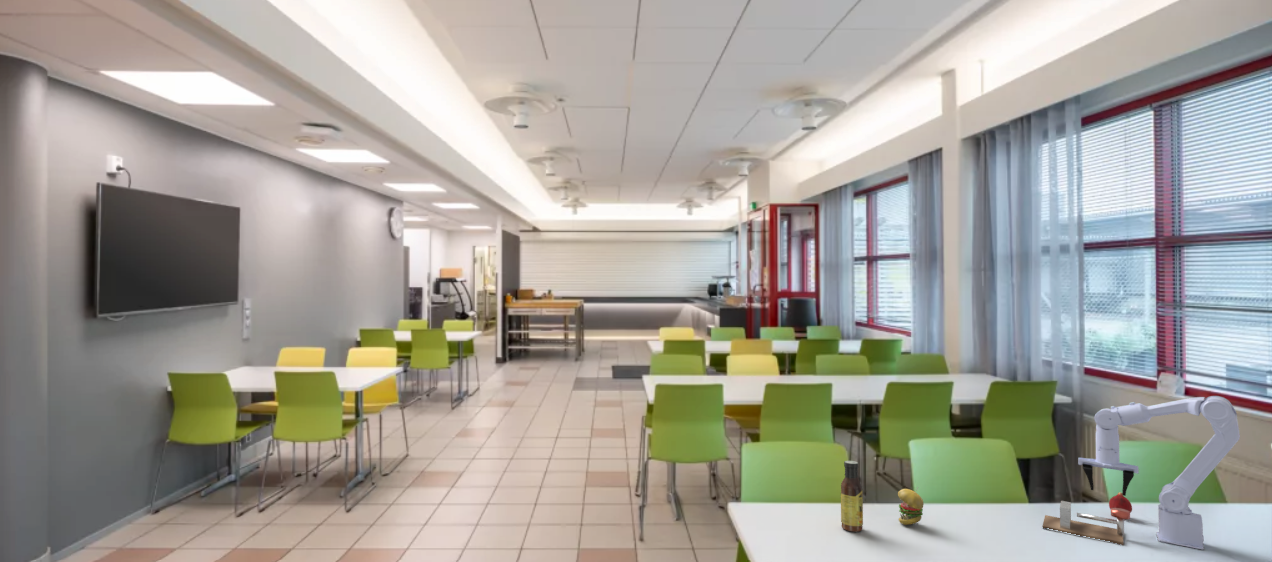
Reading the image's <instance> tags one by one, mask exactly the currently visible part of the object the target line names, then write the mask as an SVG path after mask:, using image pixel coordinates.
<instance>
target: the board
mask: <svg viewBox="0 0 1272 562" xmlns="http://www.w3.org/2000/svg"><path fill="white" fill-rule="evenodd" d="M1041 527H1043V528H1049V529H1053V530H1058V531H1062V532H1067V533H1071V534H1076V535H1080V536H1079V537H1081V536H1086V537H1090V538H1095V539H1100V540H1105V541H1110V542H1113V543H1112V544H1115V543H1117V544H1116V545H1120V544H1121V545H1120V546H1124V536H1121V535H1118V534H1117V528H1115V527H1114V528H1113V527H1109V526H1104V525H1099V524H1095V523H1089V522H1083V521H1077V520H1073V519H1071V526H1070V529H1065V528H1060V517H1057V516H1054V515H1053V516H1051V515H1046V514H1045V515H1044V518H1043V523H1042V526H1041ZM1071 534H1070V535H1071ZM1076 535H1075V536H1076ZM1086 537H1085V538H1086ZM1090 538H1089V539H1090ZM1095 539H1094V540H1095ZM1100 540H1099V541H1100ZM1105 541H1104V542H1105ZM1110 542H1109V543H1110Z"/></svg>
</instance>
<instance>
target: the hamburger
mask: <svg viewBox="0 0 1272 562" xmlns="http://www.w3.org/2000/svg"><path fill="white" fill-rule="evenodd" d="M918 488H919V486H917V488H916V489H915V491H914V490H912V489H910V488H901V489H900V490H898V492H897V496H898V498H899V502H901V501H902V502H901V503H900V504H898V507H899V510H898V513H899V512H900V513H899V514H900V517H899V518H898V522H899V523H900V524H902V525H905V526H909V525H910V526H911V525H914V524H917V523H919V522H920V521H921V520H922V516H923V514H924V513H923V509H924V500H923V498H922V496H921V495H920V494H918V493H917V491H918Z"/></svg>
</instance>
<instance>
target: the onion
mask: <svg viewBox="0 0 1272 562" xmlns="http://www.w3.org/2000/svg"><path fill="white" fill-rule="evenodd" d="M1108 507H1109V509H1110V510H1111V508H1121V509H1125V510H1128V511H1130V514H1131V513H1132V511H1133V506H1132V503H1131V501H1130V500H1129V499H1128V498H1127V497H1126V496H1123V494H1122V492H1121V491H1120V492H1118V493H1117V494H1116V495H1114V496H1112V497H1111V498H1110V499H1109V501H1108Z"/></svg>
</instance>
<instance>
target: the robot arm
mask: <svg viewBox="0 0 1272 562" xmlns="http://www.w3.org/2000/svg"><path fill="white" fill-rule="evenodd" d="M1184 413H1187V414H1191V415H1193V416H1197V417H1199V416H1200V414H1201V415H1202V416H1203V417H1204V418H1205V419H1206V420H1207V421H1208V422H1209V424H1210V426H1211V428H1212V430H1213V432H1214V434H1213V435H1212V437H1211V438H1210V439H1209V440H1208V441H1206V442H1207V443H1206V444H1204V446H1203V447H1202V448H1201V449H1200V451H1199V452H1198V453H1197V454H1196V455H1195V456H1194V458H1193V459H1192V460H1191V461H1190V463H1188V465H1187V466H1186V467H1185V468H1184V470H1183V471H1182V472H1181V473H1180V474H1179V475H1178V476H1177V477H1176V478H1175V479H1174V480H1173V481H1172V482H1170V483H1166V484H1164V486H1162V487H1161V492H1159V494H1158V502H1159V504H1158V505H1157V506H1158V509H1157V510H1158V531H1155V533H1157V534H1156V537H1158V538H1157V540H1158V541H1159V542H1160V543H1161V542H1162V543H1167V544H1172V545H1178V546H1183V547H1188V548H1191V549H1192V548H1193V549H1197V550H1204V549H1205V548H1204V541H1205V538H1204V529H1203V527H1204V526H1203V525H1204V523H1203V517H1202V514H1200V513H1195V512H1193V511H1192V509H1191V508H1190V507H1189V503H1190V500H1191V497H1192V496H1193V495H1194V494H1195V492H1196V491H1197V490H1198V488H1199V487H1200V485H1201V484H1203V482H1204V481H1205V479H1207V477H1208V476H1209V475H1210V474H1211V473H1212V472H1213V470H1214V469H1215V468H1216V467H1217V466H1218V465H1219V463H1221V461H1222V460H1223V459H1224V458H1225V457H1226V455H1227V454H1228V453H1229V452H1230V451H1231V450H1232V449H1233V447H1235V445H1236V444H1237V443H1238V441H1240V439H1241V437H1240V434H1241V433H1240V427H1239V421H1238V414H1237V411H1236V409H1235V407H1234V406H1233V404H1232V403H1231V402H1230V400H1229V399H1227V398H1225V397H1224V396H1219V395H1211V396H1208V397H1205V396H1197V397H1190V398H1189V397H1188V398H1183V399H1178V400H1172V401H1167V402H1162V403H1158V404H1153V405H1145V404H1143V403H1140V402H1139V403H1138V402H1137V403H1136V401H1133V402H1129V404H1127V405H1121V406H1116V405H1112V406H1111V405H1110V408H1109V407H1107V408H1102V409H1100V410H1098V411H1097V412H1096V413H1095V415H1094V422H1095V425H1096V426H1095V429H1096V431H1095V458H1088V457H1087V458H1085V457H1078V459H1077V460H1078V463H1077V464H1078V465H1079V466H1082V469H1083V471H1084V473H1085V475H1086V478H1087V479H1088V482H1089V486H1090V487H1089V488H1090V490H1091V491H1094V487H1095V485H1094V476H1093V474H1094V472H1093V471H1094V469H1093V468H1094V467H1095V468H1102V469H1108V470H1115V471H1120V472H1122V489H1121V491H1122V492H1121V493H1122V495H1123V496H1124V497H1126V495H1127V490H1128V488H1129V485H1130V483H1131V481H1132V480H1133V479H1134V476H1135V474H1137V475H1138V474H1140V473H1139V470H1140V469H1139V465H1134V464H1128V463H1125V462H1120V434H1119V426H1122V427H1126V426H1131V425H1136V424H1137V425H1138V424H1144V423H1149V422H1150V420H1151V419H1152V418H1154V417H1161V416H1169V415H1176V414H1184Z"/></svg>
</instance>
